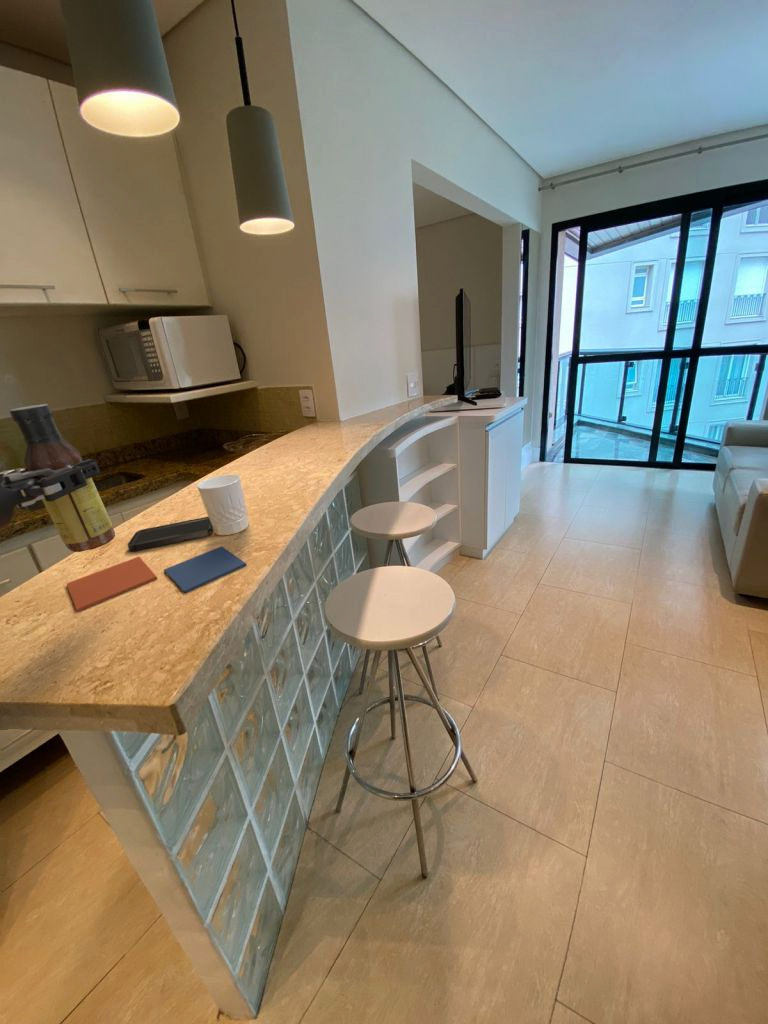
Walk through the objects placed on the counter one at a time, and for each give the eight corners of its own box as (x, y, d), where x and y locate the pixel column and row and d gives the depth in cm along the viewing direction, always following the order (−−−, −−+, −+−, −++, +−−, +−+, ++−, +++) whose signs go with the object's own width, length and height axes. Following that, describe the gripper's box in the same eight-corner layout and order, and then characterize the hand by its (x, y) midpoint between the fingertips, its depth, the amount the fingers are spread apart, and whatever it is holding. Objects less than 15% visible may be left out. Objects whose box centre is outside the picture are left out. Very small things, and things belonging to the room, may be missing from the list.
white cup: (219, 541, 76) (204, 491, 73) (206, 529, 82) (191, 483, 78) (258, 526, 81) (246, 479, 77) (243, 516, 87) (231, 472, 83)
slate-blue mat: (184, 593, 61) (183, 591, 61) (164, 571, 68) (163, 569, 68) (246, 565, 67) (246, 563, 67) (222, 547, 74) (221, 546, 74)
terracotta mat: (77, 611, 59) (76, 609, 59) (67, 585, 67) (66, 583, 67) (157, 578, 66) (156, 576, 66) (139, 558, 73) (139, 556, 73)
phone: (137, 530, 83) (214, 515, 86) (139, 535, 83) (215, 520, 86) (125, 547, 76) (210, 529, 79) (127, 552, 76) (211, 535, 79)
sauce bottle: (115, 530, 64) (65, 400, 56) (119, 543, 59) (64, 403, 51) (64, 545, 60) (3, 408, 52) (64, 559, 55) (-3, 411, 48)
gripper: (-26, 478, 39) (109, 437, 55) (-134, 484, 42) (22, 444, 57) (9, 546, 42) (128, 490, 57) (-94, 547, 45) (45, 493, 60)
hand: (75, 467), depth 57 cm, fingers closed on sauce bottle, 6 cm apart
